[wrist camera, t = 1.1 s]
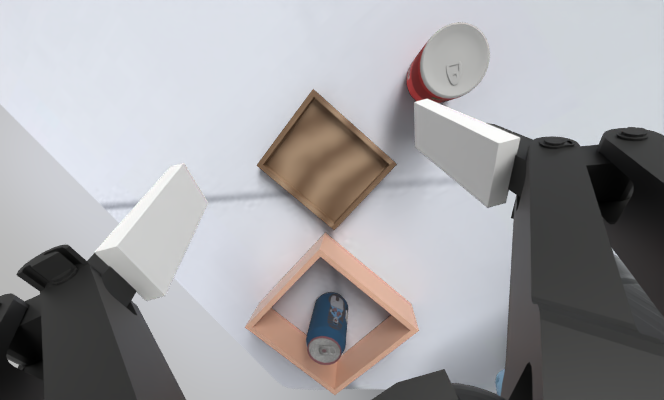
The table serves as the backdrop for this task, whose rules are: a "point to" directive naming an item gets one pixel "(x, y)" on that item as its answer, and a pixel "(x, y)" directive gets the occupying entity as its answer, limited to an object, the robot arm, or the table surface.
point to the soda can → (327, 329)
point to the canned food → (449, 64)
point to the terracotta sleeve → (362, 353)
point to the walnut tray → (325, 161)
